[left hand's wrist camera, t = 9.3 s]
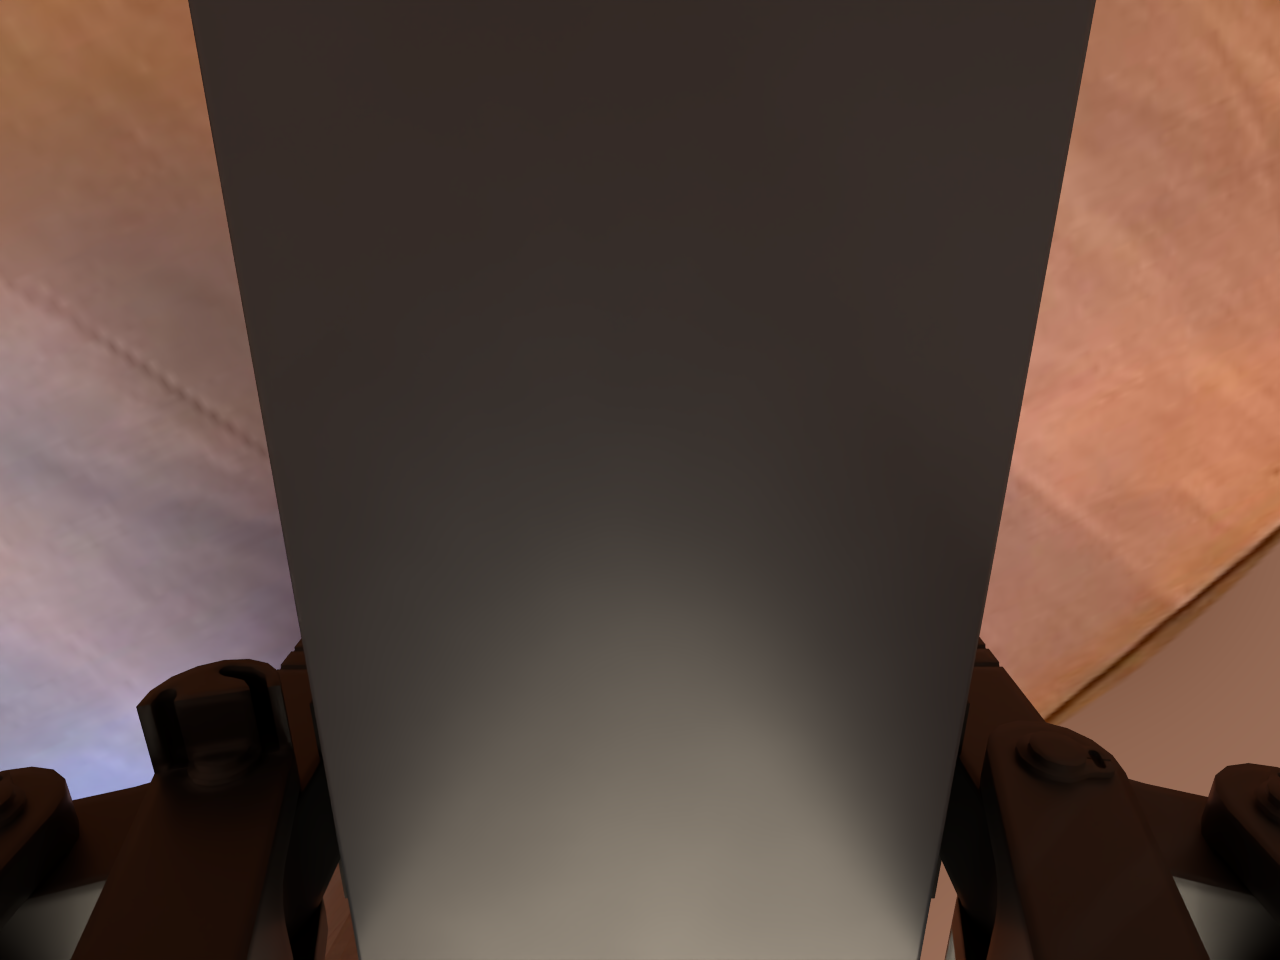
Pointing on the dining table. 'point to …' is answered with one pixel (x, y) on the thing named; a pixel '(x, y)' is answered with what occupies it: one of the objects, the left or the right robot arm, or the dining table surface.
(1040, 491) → the dining table surface
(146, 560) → the dining table surface
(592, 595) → the bar
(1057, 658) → the dining table surface
